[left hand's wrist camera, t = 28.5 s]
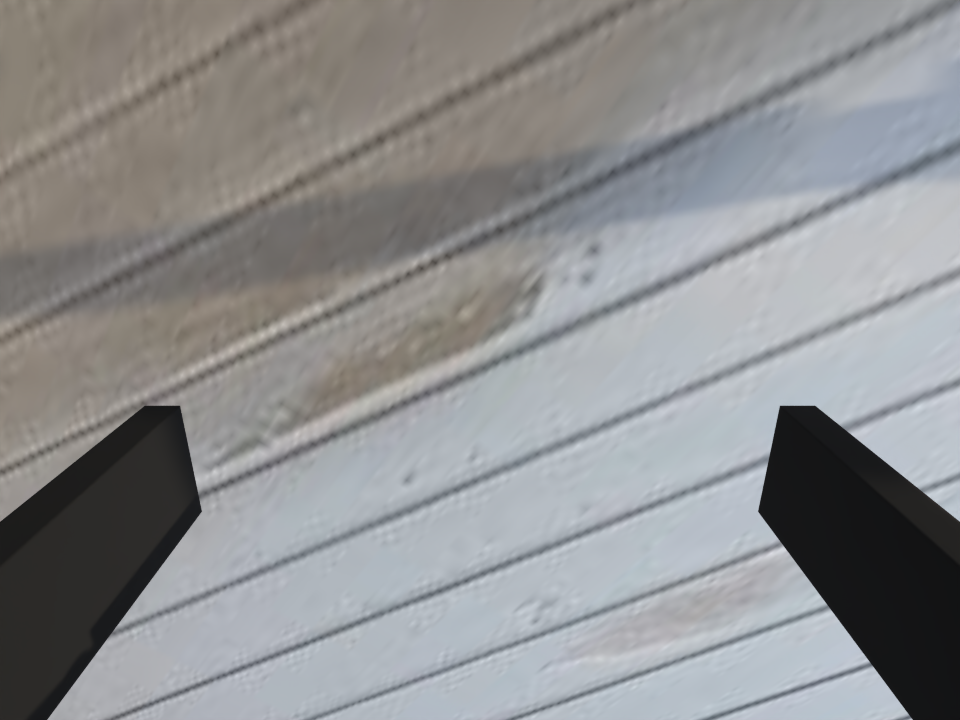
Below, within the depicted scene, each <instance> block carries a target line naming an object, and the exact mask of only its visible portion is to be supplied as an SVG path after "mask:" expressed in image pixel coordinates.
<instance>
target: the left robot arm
mask: <svg viewBox="0 0 960 720" xmlns="http://www.w3.org/2000/svg"><path fill="white" fill-rule="evenodd" d="M201 512H202V510H201V505H200V500H199V496H198V491H197V486H196V481H195V476H194V471H193V467H192V462H191V457H190V452H189V447H188V442H187V438H186V433H185V428H184V423H183V418H182V413H181V409H180V406H144V407H143V408H142V409H140V410H139V411H138V412H137V413H135V414H134V415H133V416H132V417H130V418H129V419H128V420H127V421H125V422H124V423H123V424H122V425H120V426H119V427H118V428H117V429H115V430H114V431H113V432H112V433H110V434H109V435H108V436H107V437H105V438H104V439H103V440H102V441H100V442H99V443H98V444H97V445H95V446H94V447H93V448H92V449H90V450H89V451H88V452H87V453H85V454H84V455H83V456H82V457H80V458H79V459H78V460H77V461H76V462H74V463H73V464H72V465H71V466H69V467H68V468H67V469H66V470H64V471H63V472H62V473H61V474H59V475H58V476H57V477H56V478H54V479H53V480H52V481H51V482H49V483H48V484H47V485H46V486H44V487H43V488H42V489H41V490H39V491H38V492H37V493H36V494H34V495H33V496H32V497H31V498H29V499H28V500H27V501H26V502H24V503H23V504H22V505H21V506H19V507H18V508H17V509H16V510H14V511H13V512H12V513H11V514H9V515H8V516H7V517H6V518H4V519H3V520H2V521H1V522H0V720H47V719H48V718H49V717H50V715H51V714H52V712H53V711H54V710H55V708H56V707H57V706H58V704H59V703H60V702H61V700H62V699H63V698H64V696H65V695H66V694H67V692H68V691H69V690H70V688H71V687H72V686H73V684H74V683H75V682H76V680H77V679H78V677H79V676H80V675H81V673H82V672H83V671H84V669H85V668H86V667H87V665H88V664H89V663H90V661H91V660H92V659H93V657H94V656H95V655H96V653H97V652H98V651H99V649H100V648H101V647H102V645H103V644H104V642H105V641H106V640H107V638H108V637H109V636H110V634H111V633H112V632H113V630H114V629H115V628H116V626H117V625H118V624H119V622H120V621H121V620H122V618H123V617H124V616H125V614H126V613H127V612H128V610H129V609H130V607H131V606H132V605H133V603H134V602H135V601H136V599H137V598H138V597H139V595H140V594H141V593H142V591H143V590H144V589H145V587H146V586H147V585H148V583H149V582H150V581H151V579H152V578H153V577H154V575H155V574H156V573H157V571H158V570H159V568H160V567H161V566H162V564H163V563H164V562H165V560H166V559H167V558H168V556H169V555H170V554H171V552H172V551H173V550H174V548H175V547H176V546H177V544H178V543H179V542H180V540H181V539H182V538H183V536H184V535H185V533H186V532H187V531H188V529H189V528H190V527H191V525H192V524H193V523H194V521H195V520H196V519H197V517H198V516H199V515H200V513H201ZM758 512H759V513H760V515H761V516H762V517H763V519H764V520H765V521H766V523H767V524H768V525H769V527H770V528H771V529H772V531H773V532H774V533H775V535H776V536H777V538H778V539H779V540H780V542H781V543H782V544H783V546H784V547H785V548H786V550H787V551H788V552H789V554H790V555H791V556H792V558H793V559H794V560H795V562H796V563H797V564H798V566H799V567H800V568H801V570H802V571H803V573H804V574H805V575H806V577H807V578H808V579H809V581H810V582H811V583H812V585H813V586H814V587H815V589H816V590H817V591H818V593H819V594H820V595H821V597H822V598H823V599H824V601H825V602H826V603H827V605H828V606H829V607H830V609H831V610H832V612H833V613H834V614H835V616H836V617H837V618H838V620H839V621H840V622H841V624H842V625H843V626H844V628H845V629H846V630H847V632H848V633H849V634H850V636H851V637H852V638H853V640H854V641H855V642H856V644H857V645H858V647H859V648H860V649H861V651H862V652H863V653H864V655H865V656H866V657H867V659H868V660H869V661H870V663H871V664H872V665H873V667H874V668H875V669H876V671H877V672H878V673H879V675H880V676H881V677H882V679H883V680H884V682H885V683H886V684H887V686H888V687H889V688H890V690H891V691H892V692H893V694H894V695H895V696H896V698H897V699H898V700H899V702H900V703H901V704H902V706H903V707H904V708H905V710H906V711H907V712H908V714H909V715H910V717H911V718H912V719H913V720H960V522H959V521H958V520H957V519H956V518H954V517H953V516H952V515H951V514H949V513H948V512H947V511H946V510H944V509H943V508H942V507H941V506H939V505H938V504H937V503H936V502H934V501H933V500H932V499H931V498H929V497H928V496H927V495H926V494H924V493H923V492H922V491H921V490H919V489H918V488H917V487H916V486H914V485H913V484H912V483H911V482H909V481H908V480H907V479H906V478H904V477H903V476H902V475H901V474H899V473H898V472H897V471H896V470H894V469H893V468H892V467H891V466H889V465H888V464H887V463H886V462H884V461H883V460H882V459H881V458H880V457H878V456H877V455H876V454H875V453H873V452H872V451H871V450H870V449H868V448H867V447H866V446H865V445H863V444H862V443H861V442H860V441H858V440H857V439H856V438H855V437H853V436H852V435H851V434H850V433H848V432H847V431H846V430H845V429H843V428H842V427H841V426H840V425H838V424H837V423H836V422H835V421H833V420H832V419H831V418H830V417H828V416H827V415H826V414H825V413H823V412H822V411H821V410H820V409H818V408H817V407H816V406H780V409H779V413H778V418H777V423H776V428H775V433H774V438H773V442H772V447H771V452H770V457H769V462H768V467H767V471H766V476H765V481H764V486H763V491H762V496H761V500H760V505H759V510H758Z"/></svg>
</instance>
